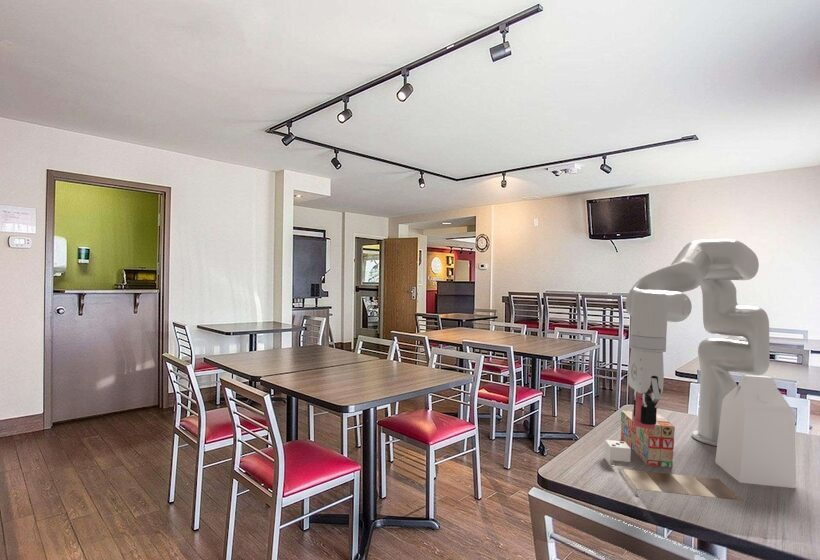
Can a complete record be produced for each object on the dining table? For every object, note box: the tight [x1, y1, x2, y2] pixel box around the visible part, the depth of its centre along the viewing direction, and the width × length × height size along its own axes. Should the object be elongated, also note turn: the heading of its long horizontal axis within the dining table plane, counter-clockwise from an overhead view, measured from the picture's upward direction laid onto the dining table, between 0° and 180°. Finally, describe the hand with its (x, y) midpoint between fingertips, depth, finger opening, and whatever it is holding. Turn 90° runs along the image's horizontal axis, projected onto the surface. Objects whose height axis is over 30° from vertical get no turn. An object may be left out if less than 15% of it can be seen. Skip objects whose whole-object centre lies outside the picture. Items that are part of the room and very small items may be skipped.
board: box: [618, 468, 744, 501], centre depth 103 cm, size 23×12×1 cm, turn 81°
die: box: [604, 439, 632, 467], centre depth 118 cm, size 5×5×5 cm
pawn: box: [634, 391, 655, 429], centre depth 105 cm, size 4×4×9 cm
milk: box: [714, 374, 797, 489], centre depth 110 cm, size 12×12×26 cm
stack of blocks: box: [620, 409, 676, 468], centre depth 123 cm, size 21×6×12 cm, turn 172°
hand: (644, 419), depth 105 cm, fingers closed on pawn, 4 cm apart
